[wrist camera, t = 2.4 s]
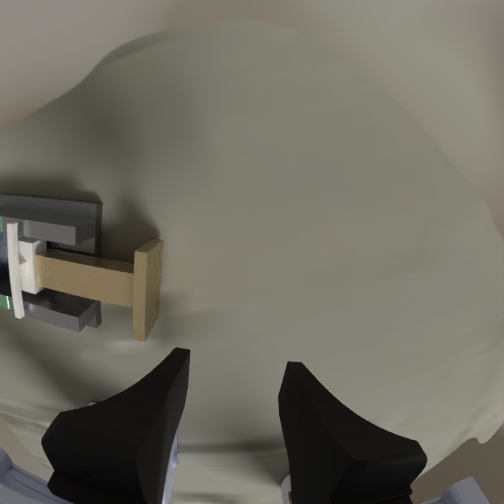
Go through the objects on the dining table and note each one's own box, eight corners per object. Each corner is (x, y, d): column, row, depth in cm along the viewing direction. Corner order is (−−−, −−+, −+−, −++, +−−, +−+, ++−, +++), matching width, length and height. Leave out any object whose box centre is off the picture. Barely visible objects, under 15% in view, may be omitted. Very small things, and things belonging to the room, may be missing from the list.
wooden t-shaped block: (163, 239, 20) (147, 253, 17) (158, 316, 22) (144, 341, 18) (54, 224, 20) (26, 232, 16) (56, 294, 21) (32, 312, 17)
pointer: (46, 217, 19) (18, 225, 15) (50, 303, 20) (26, 321, 17) (29, 215, 18) (1, 222, 15) (33, 298, 20) (9, 314, 17)
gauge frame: (102, 202, 20) (68, 210, 15) (101, 322, 22) (75, 352, 17) (3, 193, 19) (-34, 199, 14) (8, 295, 21) (-23, 314, 17)
